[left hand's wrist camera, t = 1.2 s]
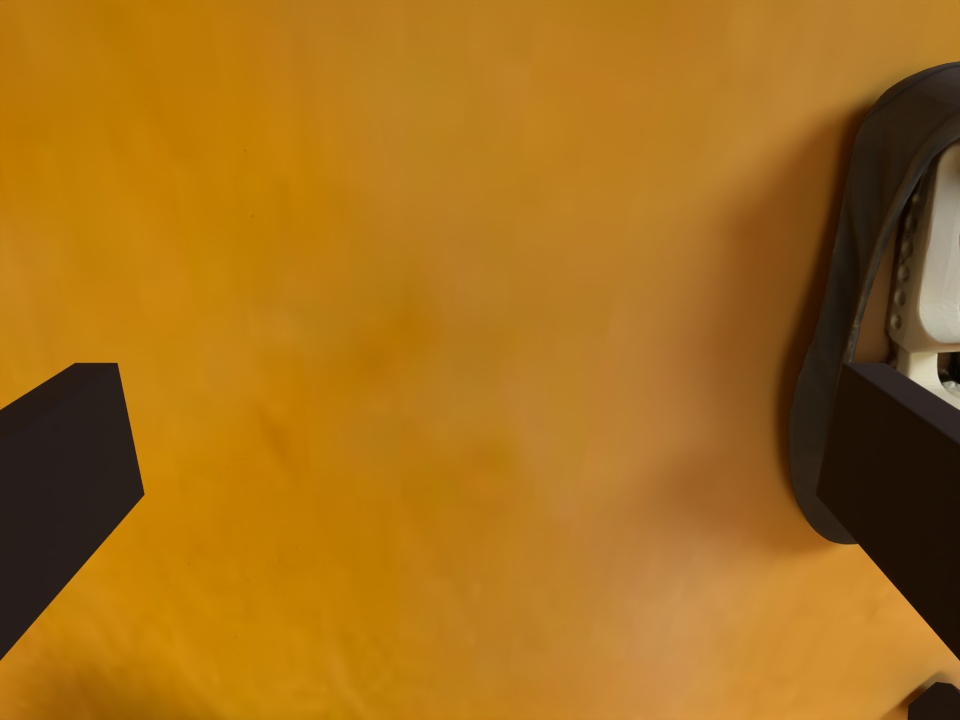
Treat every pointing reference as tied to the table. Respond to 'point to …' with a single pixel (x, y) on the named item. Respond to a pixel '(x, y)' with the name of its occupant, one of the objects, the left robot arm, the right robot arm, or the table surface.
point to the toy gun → (936, 703)
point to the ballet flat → (888, 269)
